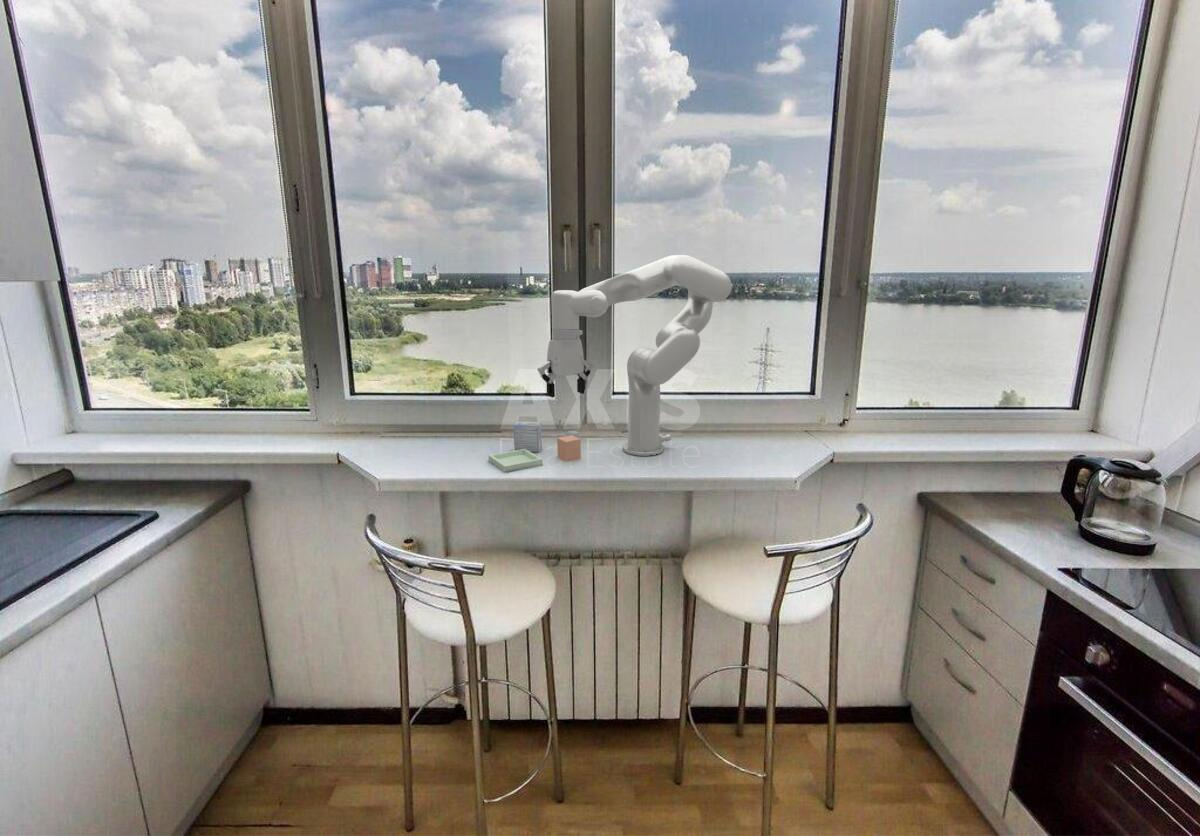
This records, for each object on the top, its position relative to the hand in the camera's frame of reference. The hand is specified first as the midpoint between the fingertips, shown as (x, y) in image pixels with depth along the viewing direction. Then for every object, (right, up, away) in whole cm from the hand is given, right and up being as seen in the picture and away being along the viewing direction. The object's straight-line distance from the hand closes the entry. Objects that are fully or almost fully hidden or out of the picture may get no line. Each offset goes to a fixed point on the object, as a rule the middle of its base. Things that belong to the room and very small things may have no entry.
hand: (566, 394), depth 163 cm
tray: (-15, -20, -1) cm, 25 cm away
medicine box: (-12, -17, +11) cm, 24 cm away
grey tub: (+1, -16, +14) cm, 21 cm away
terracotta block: (+1, -19, +4) cm, 19 cm away
